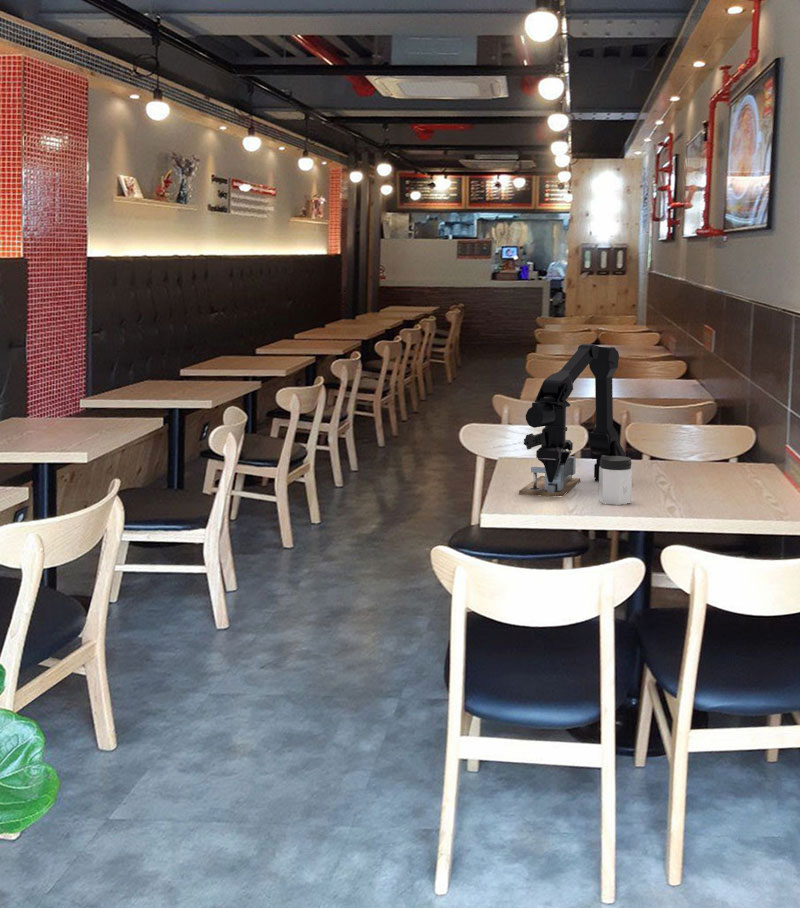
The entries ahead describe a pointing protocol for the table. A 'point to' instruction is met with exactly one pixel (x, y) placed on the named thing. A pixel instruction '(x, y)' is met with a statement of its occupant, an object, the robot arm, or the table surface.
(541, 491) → the hole plate
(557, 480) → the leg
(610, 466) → the jar
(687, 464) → the table surface
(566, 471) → the beam
